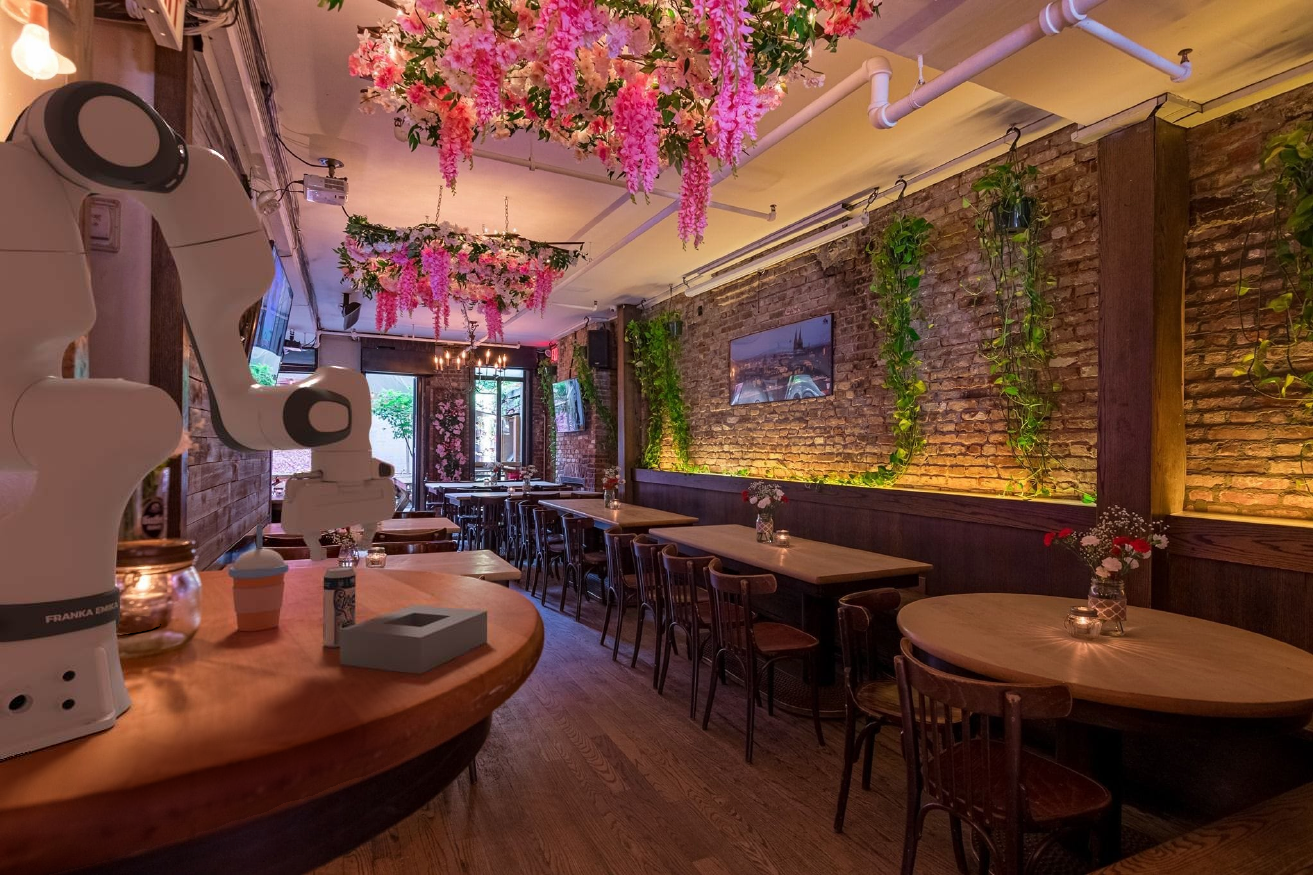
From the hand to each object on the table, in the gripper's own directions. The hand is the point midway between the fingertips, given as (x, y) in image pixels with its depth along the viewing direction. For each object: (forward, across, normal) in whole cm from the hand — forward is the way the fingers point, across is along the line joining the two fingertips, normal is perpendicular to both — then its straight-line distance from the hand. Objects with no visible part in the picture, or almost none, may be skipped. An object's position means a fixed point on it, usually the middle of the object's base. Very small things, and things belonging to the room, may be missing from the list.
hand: (342, 555), depth 105 cm
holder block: (+14, -1, -15) cm, 20 cm away
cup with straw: (+14, +3, +22) cm, 26 cm away
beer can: (+14, -1, 0) cm, 14 cm away
